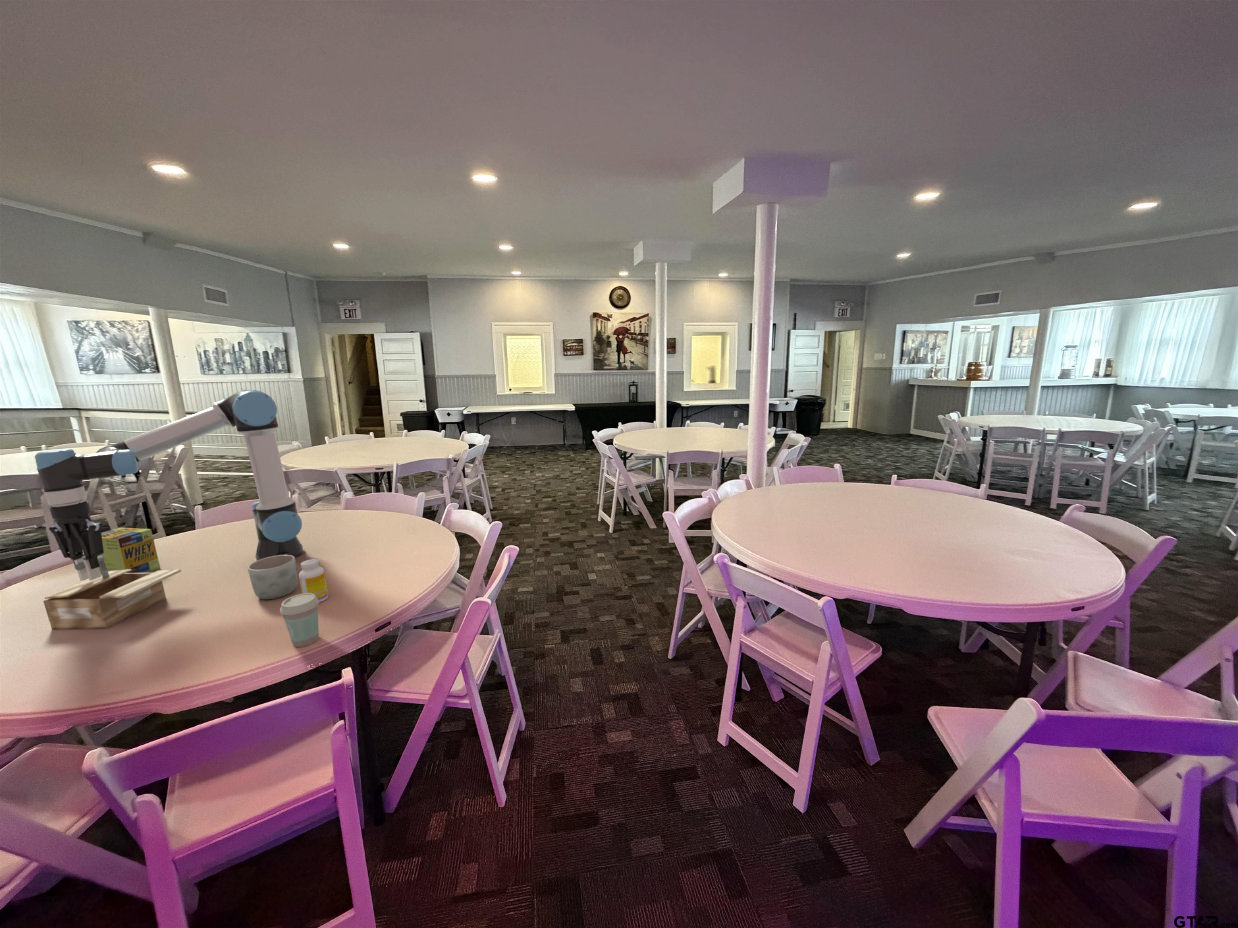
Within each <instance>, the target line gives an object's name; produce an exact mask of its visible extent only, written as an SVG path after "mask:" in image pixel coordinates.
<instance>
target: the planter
mask: <svg viewBox="0 0 1238 928" xmlns="http://www.w3.org/2000/svg"><path fill="white" fill-rule="evenodd" d="M297 570H298V569H297V563H296V557H294V556H292V555H277V556H272V557H267V558H264V559H261V560H258V561H256V560H255V561H254V562H252V563H250V564H249V565H248V566H247V571H248V575H249V580H250V583H251V586H252V587H251V588H252V590H253V592H254V595H255V596H256V597H257V598H259V599H261V600H274V599H279V598H282V597H285V596H287V595H289V594H291V593H292V592H293V591H295V589H297V586H298V572H297Z"/></svg>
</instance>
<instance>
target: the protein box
mask: <svg viewBox="0 0 1238 928" xmlns="http://www.w3.org/2000/svg"><path fill="white" fill-rule="evenodd" d="M101 535H102V542H103V550H104V553H103V554H101V555H98V556H103V557H104V562H105V565H106V568H107V571H108V572H109V571H116V570H126V569H131V570H132V571H129V572H127V573H152V572H153V571H154V572H155V571H157V570H160V569H161V564H160V561H159V557H158V551H157V548H156V544H155V541H154V535H153V531H152V528H151V529H150V528H136V527H135V528H134V527H118V528H113V529H111V530H107V531H103V532H102V531H101ZM99 569H100V568H99ZM100 573H101V571H100Z"/></svg>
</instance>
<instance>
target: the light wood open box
mask: <svg viewBox="0 0 1238 928" xmlns="http://www.w3.org/2000/svg"><path fill="white" fill-rule="evenodd" d="M181 572H182V569H162V570H161V569H157V570H155V571H154V572H153V571H152V572H148V573H124V574H122V575H120V576H117V577H115V578H113V579H110V580H108V581H105V582H103V583H101V584H98V585H96V586H93V587H91V588H89V589H86V590H84V591H81V592H79V593H77V594H74V595H72V596H70V597H60V598H50V599H44V600H43V605H44V608H45V611H46V615H47V617H48V621H49V624H50V627H51V630H53V631H54V630H55V631H57V630H58V631H59V630H63V631H64V630H107V629H109V628H112V627H113V626H115V625H117V624H119V623H120V622H122V621H125V620H127V619H128V618H131V617H132V616H134V615H137V614H139V613H140V612H142V611H145V610H146V609H148V608H150V607H152V606H154V605H156V604H158V603H160V602H162V601H164V600H166V599H167V596H166V593H165V587H164V584H163V581H164V580H166V579H168V578H171V577H172V576H173V577H174V575H177V574H179V573H181Z"/></svg>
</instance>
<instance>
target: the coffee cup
mask: <svg viewBox="0 0 1238 928" xmlns="http://www.w3.org/2000/svg"><path fill="white" fill-rule="evenodd" d="M279 613H280V614H281V615H282V617H283V620H284V624H285V626H286V628H287V631H288V635H289V637H290V639H291V643H292V646H293V647H295V648H303V647H307V646H310V645H312V644H314V643H316V642H317V641H318V640H319V639H320V638H319V637H320V634H319V601H318V599H317V598H316V596H315V595H314V594H312V593H304V594H302V593H299V594H295V595H293V596H290V597H288V598H286V599H284V600H283V601H282V602H281V605H280V608H279Z"/></svg>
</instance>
